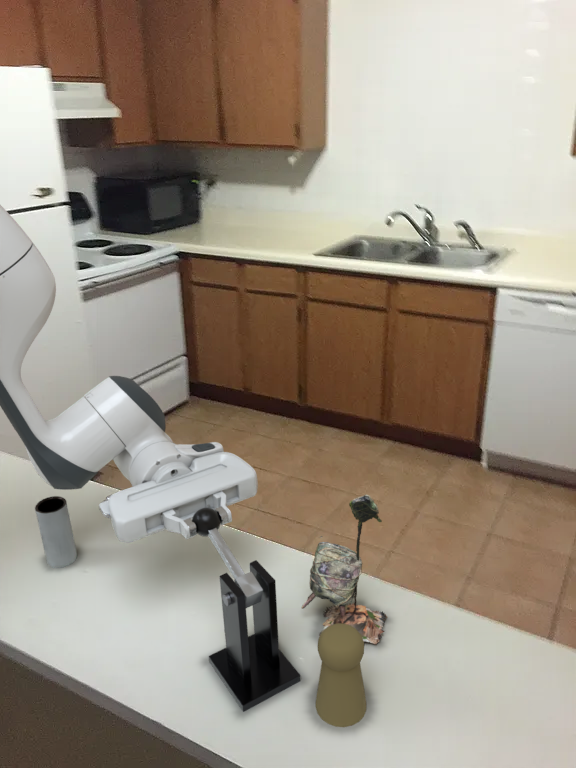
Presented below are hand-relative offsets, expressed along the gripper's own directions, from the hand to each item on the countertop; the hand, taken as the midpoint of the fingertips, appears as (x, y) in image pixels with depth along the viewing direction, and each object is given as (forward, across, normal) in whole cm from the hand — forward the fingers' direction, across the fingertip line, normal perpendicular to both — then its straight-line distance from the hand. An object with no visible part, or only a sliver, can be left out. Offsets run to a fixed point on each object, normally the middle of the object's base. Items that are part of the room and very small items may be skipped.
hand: (209, 525), depth 84 cm
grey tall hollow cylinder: (-27, -14, +16) cm, 34 cm away
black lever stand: (+9, 0, +16) cm, 19 cm away
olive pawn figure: (+19, +6, +17) cm, 26 cm away
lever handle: (+4, 0, +3) cm, 5 cm away
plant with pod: (+9, +14, +17) cm, 24 cm away
